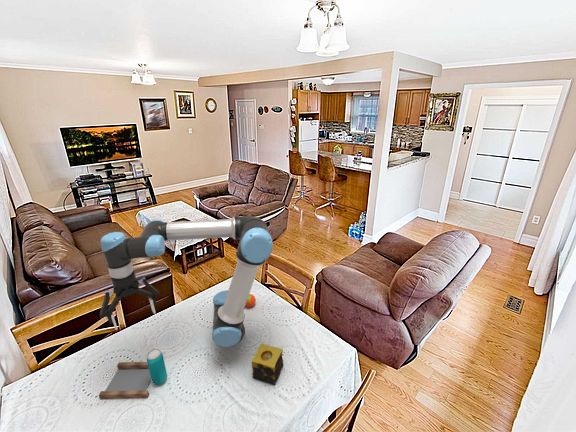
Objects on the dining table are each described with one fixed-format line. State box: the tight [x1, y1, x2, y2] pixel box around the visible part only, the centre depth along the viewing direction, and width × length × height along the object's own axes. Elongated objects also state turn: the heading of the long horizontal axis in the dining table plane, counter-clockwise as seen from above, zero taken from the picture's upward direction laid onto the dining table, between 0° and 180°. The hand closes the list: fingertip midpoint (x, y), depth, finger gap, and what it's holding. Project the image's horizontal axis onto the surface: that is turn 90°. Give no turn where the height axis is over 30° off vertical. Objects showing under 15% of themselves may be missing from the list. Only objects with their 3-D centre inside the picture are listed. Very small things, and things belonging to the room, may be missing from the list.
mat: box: [104, 369, 152, 391], centre depth 115 cm, size 16×11×1 cm
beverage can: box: [146, 347, 168, 387], centre depth 112 cm, size 6×6×15 cm
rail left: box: [98, 389, 150, 400], centre depth 109 cm, size 18×2×2 cm, turn 91°
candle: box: [251, 343, 284, 386], centre depth 117 cm, size 10×10×10 cm
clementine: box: [245, 293, 256, 308], centre depth 157 cm, size 8×7×7 cm
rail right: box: [116, 361, 149, 370], centre depth 121 cm, size 18×2×2 cm, turn 91°
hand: (135, 319), depth 111 cm, fingers open, 13 cm apart
